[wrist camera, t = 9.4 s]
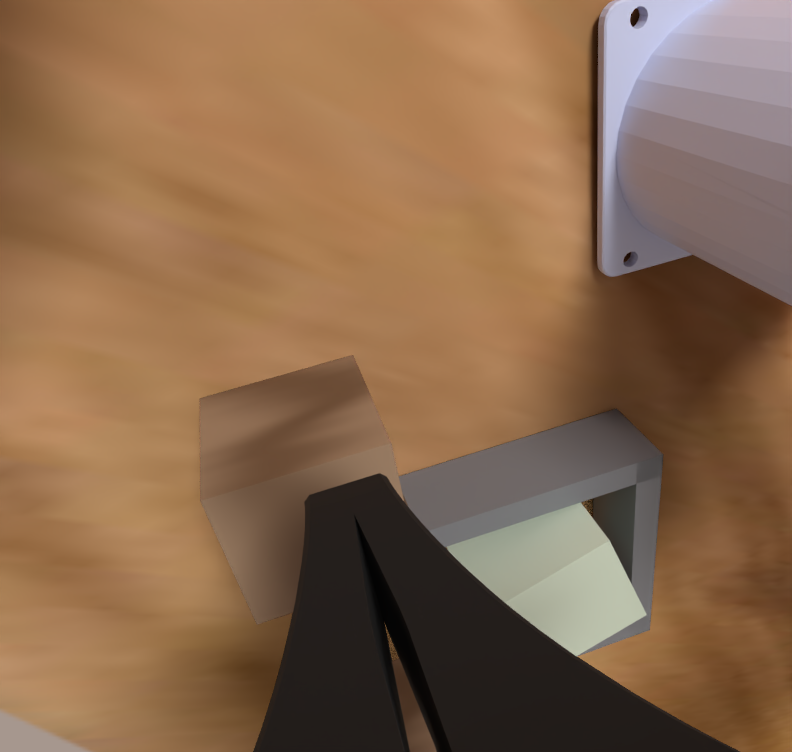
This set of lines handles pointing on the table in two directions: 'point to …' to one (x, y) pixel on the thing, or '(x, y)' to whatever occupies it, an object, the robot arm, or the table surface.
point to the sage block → (556, 576)
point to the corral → (554, 492)
